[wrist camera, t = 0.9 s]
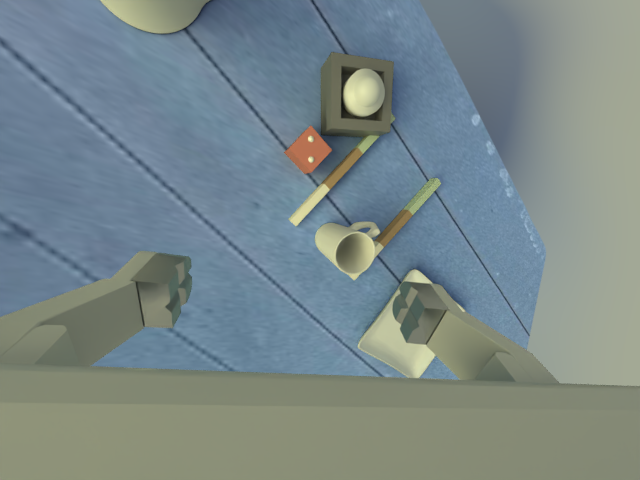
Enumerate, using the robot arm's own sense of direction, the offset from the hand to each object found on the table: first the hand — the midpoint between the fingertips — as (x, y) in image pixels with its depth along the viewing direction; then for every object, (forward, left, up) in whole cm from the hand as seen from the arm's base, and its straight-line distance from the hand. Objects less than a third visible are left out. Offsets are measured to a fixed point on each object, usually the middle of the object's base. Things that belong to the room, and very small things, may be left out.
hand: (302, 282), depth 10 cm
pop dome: (-18, +17, -32) cm, 41 cm away
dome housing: (-18, +17, -37) cm, 44 cm away
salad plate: (+28, +33, -37) cm, 57 cm away
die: (-9, +9, -37) cm, 39 cm away
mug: (+6, +15, -37) cm, 40 cm away
